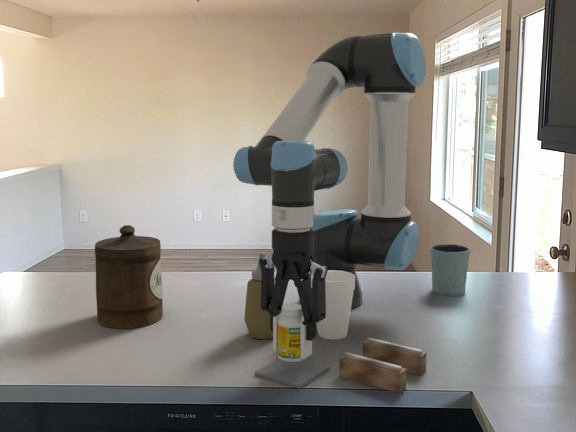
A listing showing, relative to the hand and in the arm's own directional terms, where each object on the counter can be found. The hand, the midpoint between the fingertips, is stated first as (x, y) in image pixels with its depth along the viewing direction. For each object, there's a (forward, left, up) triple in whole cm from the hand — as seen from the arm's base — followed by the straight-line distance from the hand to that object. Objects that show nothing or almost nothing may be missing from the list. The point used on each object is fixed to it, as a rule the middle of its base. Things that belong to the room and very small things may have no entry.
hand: (292, 352), depth 112 cm
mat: (0, 0, -4) cm, 4 cm away
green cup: (+5, +66, -4) cm, 66 cm away
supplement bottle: (0, 0, -1) cm, 1 cm away
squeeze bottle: (-16, +12, -4) cm, 20 cm away
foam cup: (-4, +21, -4) cm, 22 cm away
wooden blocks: (+14, +9, -4) cm, 17 cm away
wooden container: (-48, +3, -4) cm, 48 cm away
